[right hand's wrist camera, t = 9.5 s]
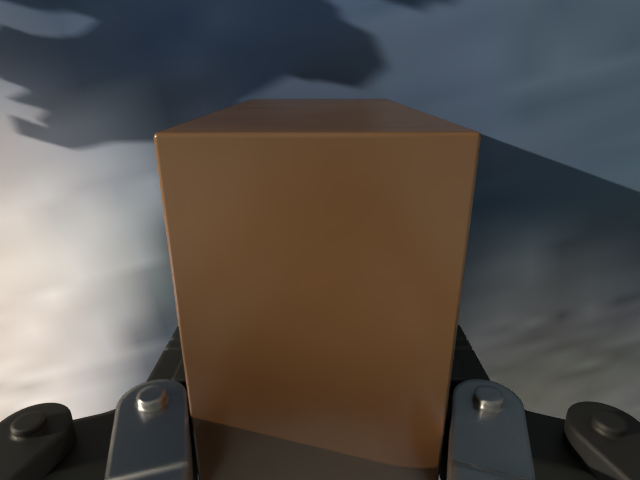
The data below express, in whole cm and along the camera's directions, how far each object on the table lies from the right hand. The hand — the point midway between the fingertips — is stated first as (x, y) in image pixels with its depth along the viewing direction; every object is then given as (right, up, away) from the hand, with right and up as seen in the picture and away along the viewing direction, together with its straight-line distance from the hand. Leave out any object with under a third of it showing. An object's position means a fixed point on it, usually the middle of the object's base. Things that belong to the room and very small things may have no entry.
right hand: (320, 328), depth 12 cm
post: (0, -28, +15) cm, 32 cm away
